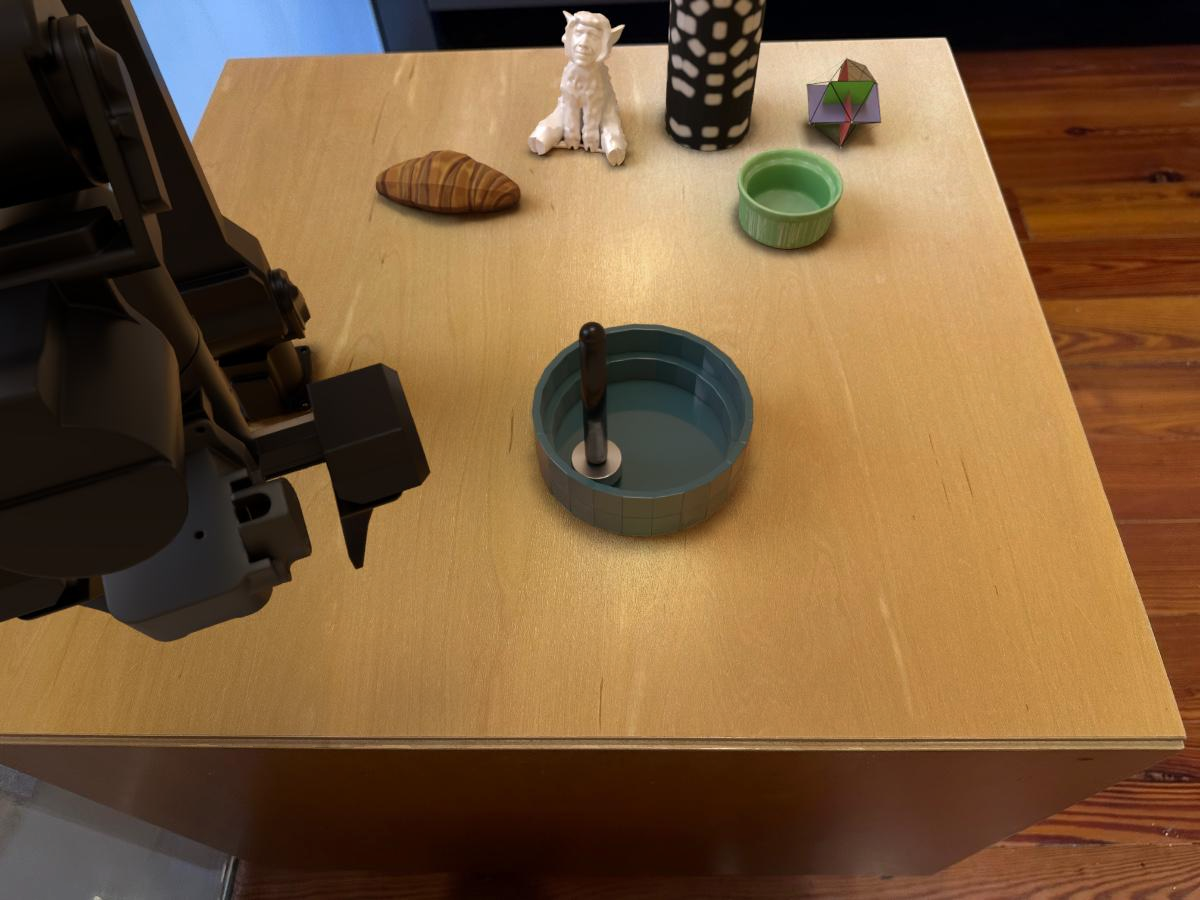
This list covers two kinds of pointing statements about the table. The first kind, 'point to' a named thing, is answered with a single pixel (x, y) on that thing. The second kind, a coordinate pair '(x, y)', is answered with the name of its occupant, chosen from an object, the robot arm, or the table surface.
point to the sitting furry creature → (585, 93)
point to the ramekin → (788, 197)
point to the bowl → (648, 430)
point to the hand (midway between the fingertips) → (265, 593)
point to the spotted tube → (712, 70)
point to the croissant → (448, 184)
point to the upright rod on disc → (595, 411)
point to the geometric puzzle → (845, 99)
